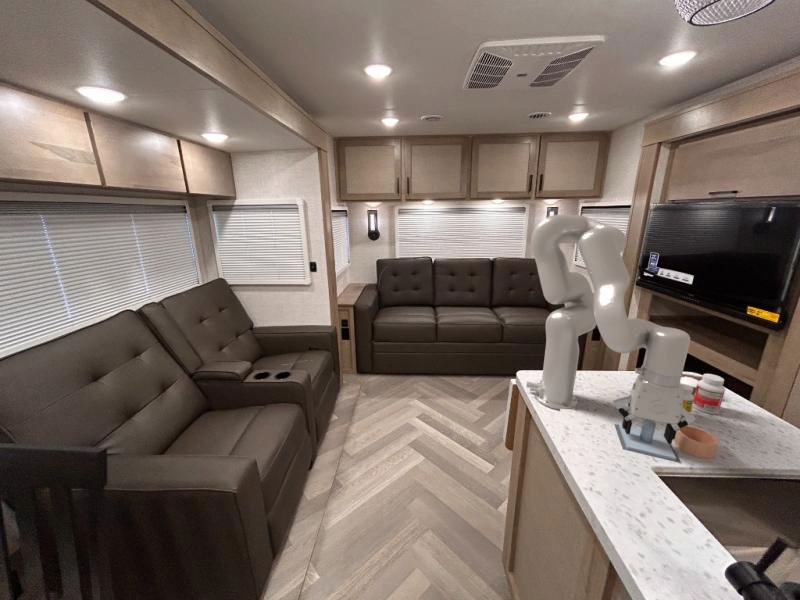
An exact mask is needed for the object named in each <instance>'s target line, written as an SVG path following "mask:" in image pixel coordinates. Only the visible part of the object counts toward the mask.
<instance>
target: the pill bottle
mask: <svg viewBox="0 0 800 600" xmlns="http://www.w3.org/2000/svg"><path fill="white" fill-rule="evenodd" d="M701 377H702V380H700V381H698V383H697V387H696V391H695V394H694V401H693V405H692V408H694V409H697V410H698V411H699V412H702V413H705V414H711V415H717V414H718V413H719V412H720V410H721V407H722V406H721V405H722V403H723V398H724V395H725V393H726V392H725V391H726V388H725V386H724V384H725V383H724V382H725V378H723V377H721V376H719V375H716V374H713V373H704V374H702V376H701Z"/></svg>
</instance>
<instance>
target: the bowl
mask: <svg viewBox="0 0 800 600" xmlns="http://www.w3.org/2000/svg"><path fill="white" fill-rule="evenodd" d="M672 442H673V444H674V445H675V446H677V447H678V448H679V449H680V450H681V451H683V452H685V453H688V454H690V455H691V456H695V457H700V458H704V459H711V458H714V457H715V455H716V453H717V449H718V447H719V443H720V441H719V439H718V438H717V437H716V436H715V435H714V434H712V433H711V432H709V431H707V430H705V429H703V428H701V427H699V426H695V425H690V424H688V425H687V426H685V427H683V428H680V430H679V431H677V432H676V436H675V439H674V440H672Z"/></svg>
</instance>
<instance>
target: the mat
mask: <svg viewBox="0 0 800 600" xmlns="http://www.w3.org/2000/svg"><path fill="white" fill-rule="evenodd" d="M614 428H615V431H616V434H617V436H618V439H619V442H620V446H621V447H622V450H624V451H629V452H632V453H636V454H641V455H645V456H648V457H653V458H658V459H661V460H664V461H665V460H666V461H670V462H673V463H679V464H682V461H681V460H680V458H679V456H678V454H677V452H676V450H675V449H674V446H673V445H672V443H671V444H669V443H668V444H669V446H670V447H671V449H672V451H673V453H674V455H675V457H676V461H675V460H671V459H667V458H663V457H659V456H654V455H650V454H646V453H642V452H638V451H633V450H629V449H627V447H626V445H625V442H624V439H623V436H622V434H621V431H620V428H619V424H615V423H614Z"/></svg>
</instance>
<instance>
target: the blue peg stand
mask: <svg viewBox="0 0 800 600" xmlns="http://www.w3.org/2000/svg"><path fill="white" fill-rule="evenodd" d="M618 425H619V428H620V431H621V434H622V436H623V439H624V442H625V445H626V447H627V449H629V450H633V451H638V452H642V453H646V454H650V455H654V456H659V457H663V458H667V459H671V460H675V461H676V457H675V455H674V453H673V451H672V449H671V447H670V446H669V444H668V443H667V441H666V439H665V437H664V433H663V432H659V431H656V425H657V424H656V421H654V420H649V419H644V418H643V420H642V425H641V427H635V426H631V431H630V434H626V432H625V429H623V428H622V423H621V424H620V423H619V424H618Z"/></svg>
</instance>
